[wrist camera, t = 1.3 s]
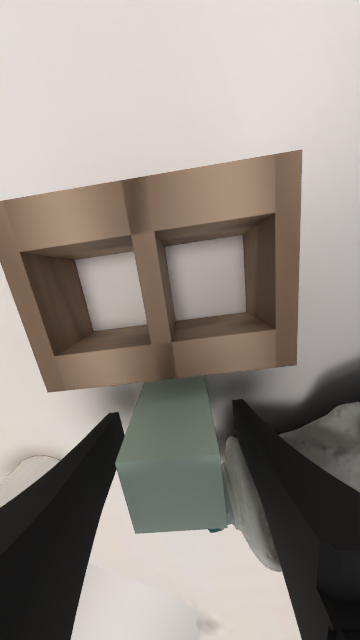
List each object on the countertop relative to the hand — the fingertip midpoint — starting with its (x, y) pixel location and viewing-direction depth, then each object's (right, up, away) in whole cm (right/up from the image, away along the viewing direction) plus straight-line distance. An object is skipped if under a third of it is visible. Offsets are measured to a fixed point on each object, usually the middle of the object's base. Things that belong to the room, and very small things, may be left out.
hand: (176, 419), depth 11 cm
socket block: (-1, +8, +1) cm, 9 cm away
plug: (0, +1, +3) cm, 3 cm away
